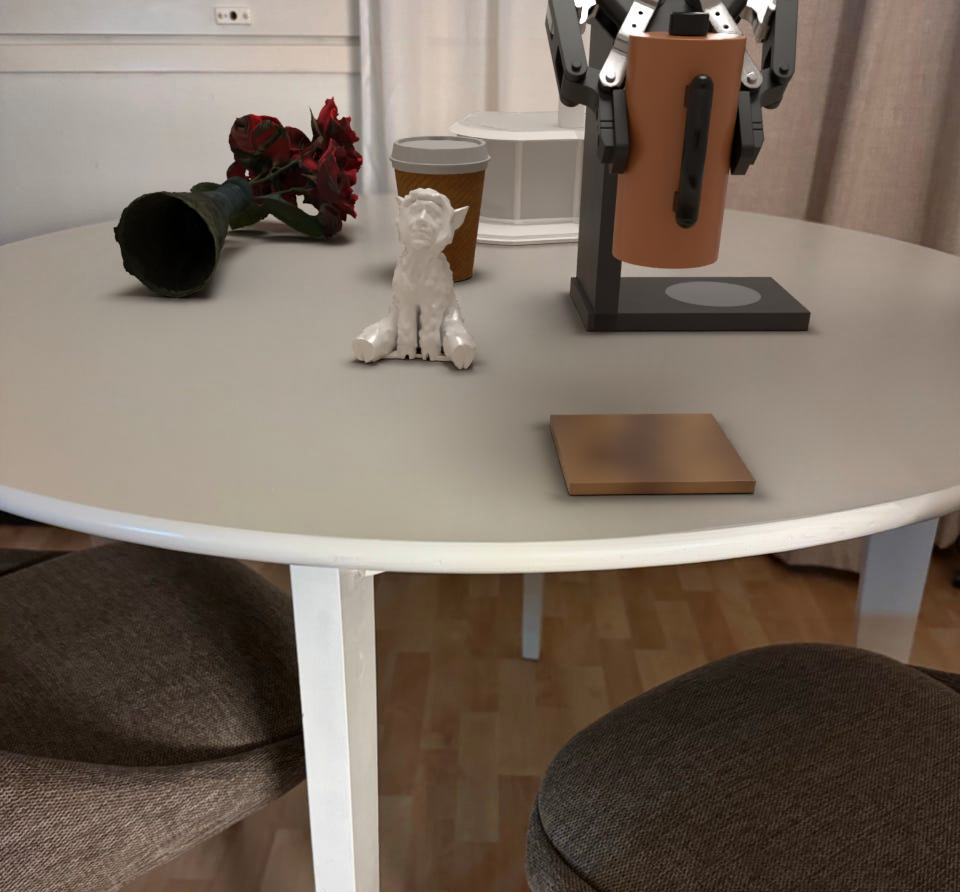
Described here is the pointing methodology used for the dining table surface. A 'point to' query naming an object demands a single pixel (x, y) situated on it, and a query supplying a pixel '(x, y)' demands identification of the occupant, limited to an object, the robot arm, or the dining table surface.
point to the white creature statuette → (422, 289)
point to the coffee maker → (657, 298)
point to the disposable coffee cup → (446, 185)
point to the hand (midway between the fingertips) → (681, 164)
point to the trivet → (647, 454)
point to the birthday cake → (529, 174)
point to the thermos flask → (677, 143)
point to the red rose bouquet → (243, 199)
